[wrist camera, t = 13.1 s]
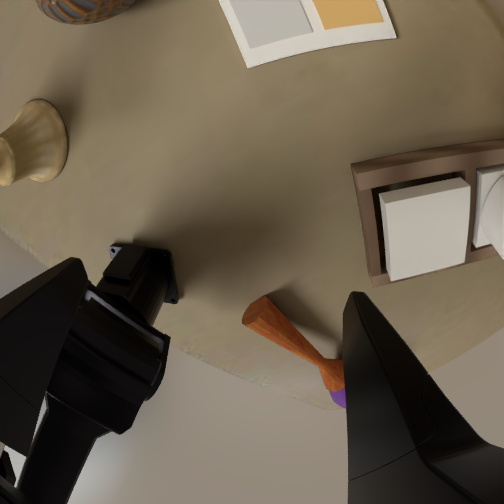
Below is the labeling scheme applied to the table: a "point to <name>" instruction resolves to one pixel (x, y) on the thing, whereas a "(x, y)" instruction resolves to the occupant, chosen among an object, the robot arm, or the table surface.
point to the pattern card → (303, 25)
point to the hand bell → (33, 144)
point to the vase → (82, 10)
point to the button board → (414, 167)
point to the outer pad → (483, 199)
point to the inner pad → (425, 227)
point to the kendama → (295, 344)
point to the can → (494, 216)
